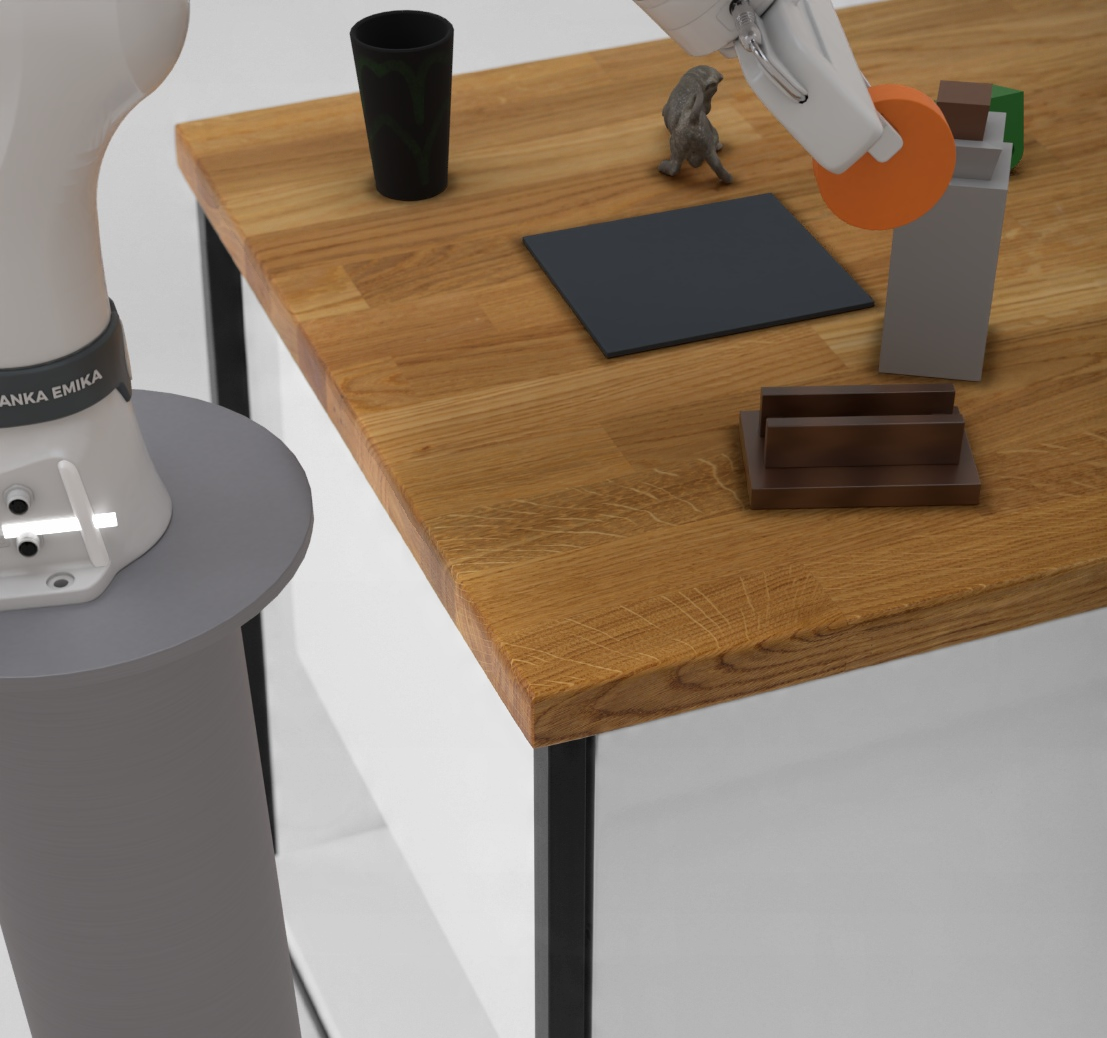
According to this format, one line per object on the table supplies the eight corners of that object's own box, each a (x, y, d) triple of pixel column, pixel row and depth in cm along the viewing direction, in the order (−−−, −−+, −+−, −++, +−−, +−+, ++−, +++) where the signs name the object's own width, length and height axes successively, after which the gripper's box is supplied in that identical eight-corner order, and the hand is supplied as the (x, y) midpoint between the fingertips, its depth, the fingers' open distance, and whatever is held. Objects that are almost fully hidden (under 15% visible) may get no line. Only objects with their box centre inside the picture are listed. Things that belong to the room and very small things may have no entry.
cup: (477, 172, 161) (471, 18, 153) (433, 213, 156) (425, 57, 148) (390, 155, 163) (379, 3, 155) (344, 196, 158) (330, 41, 150)
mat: (607, 358, 140) (607, 353, 140) (522, 241, 152) (522, 236, 152) (874, 306, 144) (874, 301, 144) (770, 197, 157) (771, 192, 157)
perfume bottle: (985, 331, 142) (1022, 74, 129) (980, 381, 137) (1017, 119, 125) (887, 322, 143) (914, 66, 131) (878, 372, 138) (905, 111, 126)
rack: (750, 509, 126) (754, 446, 123) (738, 430, 133) (741, 368, 130) (978, 504, 126) (988, 441, 123) (955, 425, 133) (963, 364, 130)
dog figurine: (733, 194, 157) (737, 100, 152) (657, 194, 158) (659, 100, 153) (729, 127, 166) (733, 35, 161) (658, 126, 166) (660, 35, 161)
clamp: (960, 203, 165) (997, 86, 162) (1002, 216, 160) (1041, 96, 157) (837, 169, 160) (873, 48, 157) (876, 181, 155) (915, 57, 152)
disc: (804, 225, 120) (833, 92, 115) (799, 209, 122) (827, 77, 116) (937, 236, 121) (971, 104, 116) (931, 220, 123) (964, 89, 117)
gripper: (796, 1, 102) (967, 179, 109) (742, -140, 117) (896, 25, 124) (703, 93, 105) (876, 261, 112) (662, -56, 120) (817, 100, 127)
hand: (886, 136), depth 118 cm, fingers closed on disc, 2 cm apart
